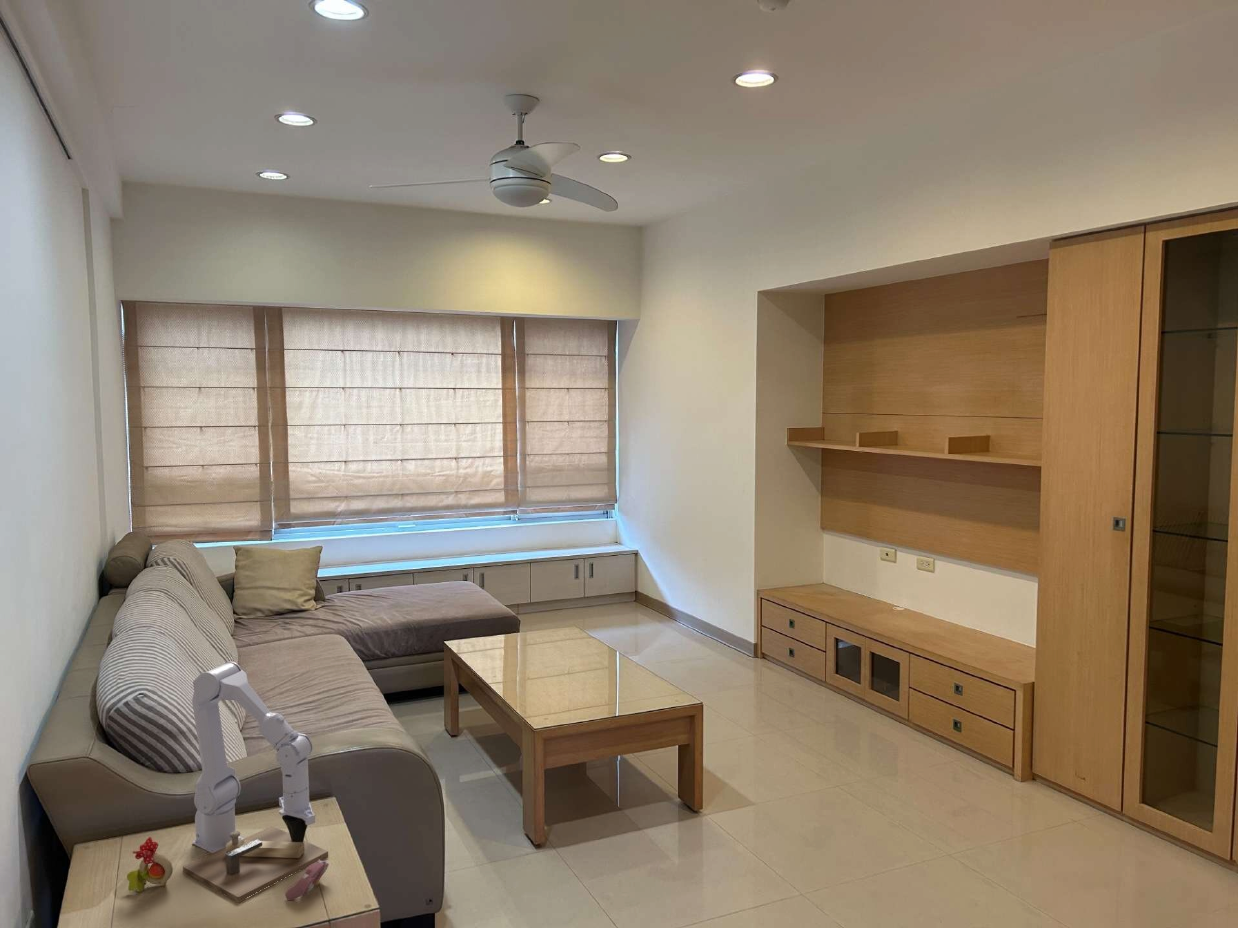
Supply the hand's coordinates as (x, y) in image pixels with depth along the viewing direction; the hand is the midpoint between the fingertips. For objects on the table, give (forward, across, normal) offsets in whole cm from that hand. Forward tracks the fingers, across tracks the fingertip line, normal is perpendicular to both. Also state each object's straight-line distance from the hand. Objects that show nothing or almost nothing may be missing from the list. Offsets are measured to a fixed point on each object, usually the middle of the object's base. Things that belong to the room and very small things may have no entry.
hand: (298, 843), depth 209 cm
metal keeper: (+1, -1, -12) cm, 12 cm away
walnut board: (+3, -3, -9) cm, 10 cm away
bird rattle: (+3, -11, -29) cm, 31 cm away
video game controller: (+3, +16, -5) cm, 17 cm away
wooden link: (+1, -3, -7) cm, 7 cm away
